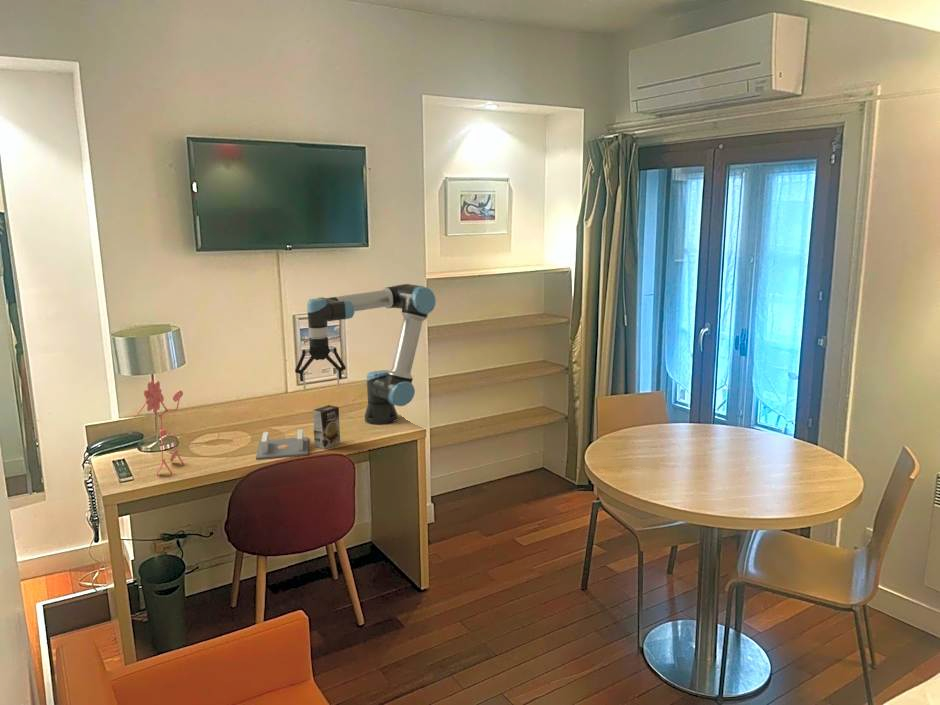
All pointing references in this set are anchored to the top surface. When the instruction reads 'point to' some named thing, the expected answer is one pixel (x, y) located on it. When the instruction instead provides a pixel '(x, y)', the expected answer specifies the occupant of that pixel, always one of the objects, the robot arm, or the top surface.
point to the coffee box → (326, 426)
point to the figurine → (153, 402)
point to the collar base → (282, 446)
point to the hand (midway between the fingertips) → (321, 387)
